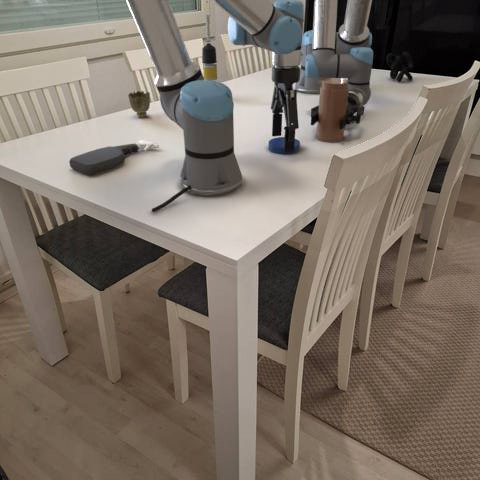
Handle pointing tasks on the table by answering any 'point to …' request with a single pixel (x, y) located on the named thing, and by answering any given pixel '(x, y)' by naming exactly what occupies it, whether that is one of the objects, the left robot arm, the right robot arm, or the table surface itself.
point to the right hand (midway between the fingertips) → (326, 122)
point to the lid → (281, 145)
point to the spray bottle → (106, 157)
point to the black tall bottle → (209, 57)
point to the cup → (140, 102)
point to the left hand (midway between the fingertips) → (282, 143)
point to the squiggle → (399, 66)
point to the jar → (332, 109)
